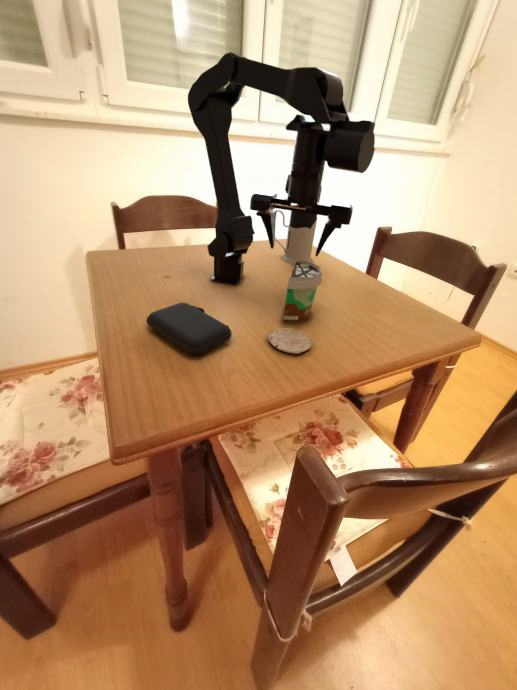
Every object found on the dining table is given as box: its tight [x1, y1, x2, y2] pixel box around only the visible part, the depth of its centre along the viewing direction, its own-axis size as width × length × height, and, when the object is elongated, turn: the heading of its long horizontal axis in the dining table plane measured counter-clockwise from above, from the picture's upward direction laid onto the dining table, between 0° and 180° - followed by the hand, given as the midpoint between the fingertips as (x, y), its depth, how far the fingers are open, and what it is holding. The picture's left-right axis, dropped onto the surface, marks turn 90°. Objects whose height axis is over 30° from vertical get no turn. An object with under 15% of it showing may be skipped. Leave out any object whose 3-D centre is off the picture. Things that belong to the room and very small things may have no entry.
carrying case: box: [146, 302, 233, 356], centre depth 56 cm, size 11×3×15 cm
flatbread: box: [267, 327, 312, 355], centre depth 56 cm, size 8×8×1 cm
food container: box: [282, 258, 323, 324], centre depth 64 cm, size 12×6×10 cm, turn 168°
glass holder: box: [275, 204, 318, 265], centre depth 92 cm, size 9×14×15 cm, turn 89°
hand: (294, 252), depth 64 cm, fingers open, 9 cm apart
